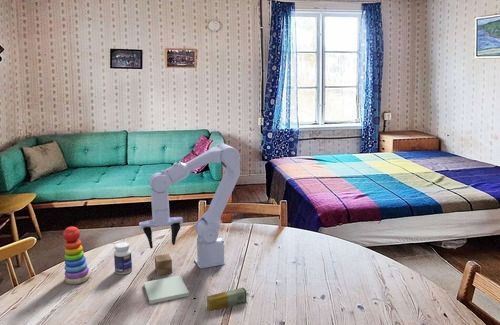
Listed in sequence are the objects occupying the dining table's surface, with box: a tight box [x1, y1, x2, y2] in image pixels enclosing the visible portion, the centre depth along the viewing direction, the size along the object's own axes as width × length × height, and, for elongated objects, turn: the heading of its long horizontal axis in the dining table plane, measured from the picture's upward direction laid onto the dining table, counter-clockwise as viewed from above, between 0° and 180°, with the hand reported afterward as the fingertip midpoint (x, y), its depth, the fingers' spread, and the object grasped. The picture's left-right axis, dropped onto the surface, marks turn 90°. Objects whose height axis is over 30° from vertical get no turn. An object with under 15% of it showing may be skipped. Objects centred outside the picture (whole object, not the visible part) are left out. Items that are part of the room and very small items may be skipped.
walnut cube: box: [154, 253, 173, 276], centre depth 144 cm, size 5×5×5 cm
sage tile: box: [143, 275, 190, 305], centre depth 131 cm, size 12×12×1 cm
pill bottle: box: [113, 241, 133, 275], centre depth 144 cm, size 6×6×10 cm
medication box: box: [206, 287, 248, 312], centre depth 123 cm, size 12×3×4 cm, turn 114°
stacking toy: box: [62, 226, 91, 285], centre depth 137 cm, size 8×8×19 cm
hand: (162, 245), depth 143 cm, fingers open, 7 cm apart
